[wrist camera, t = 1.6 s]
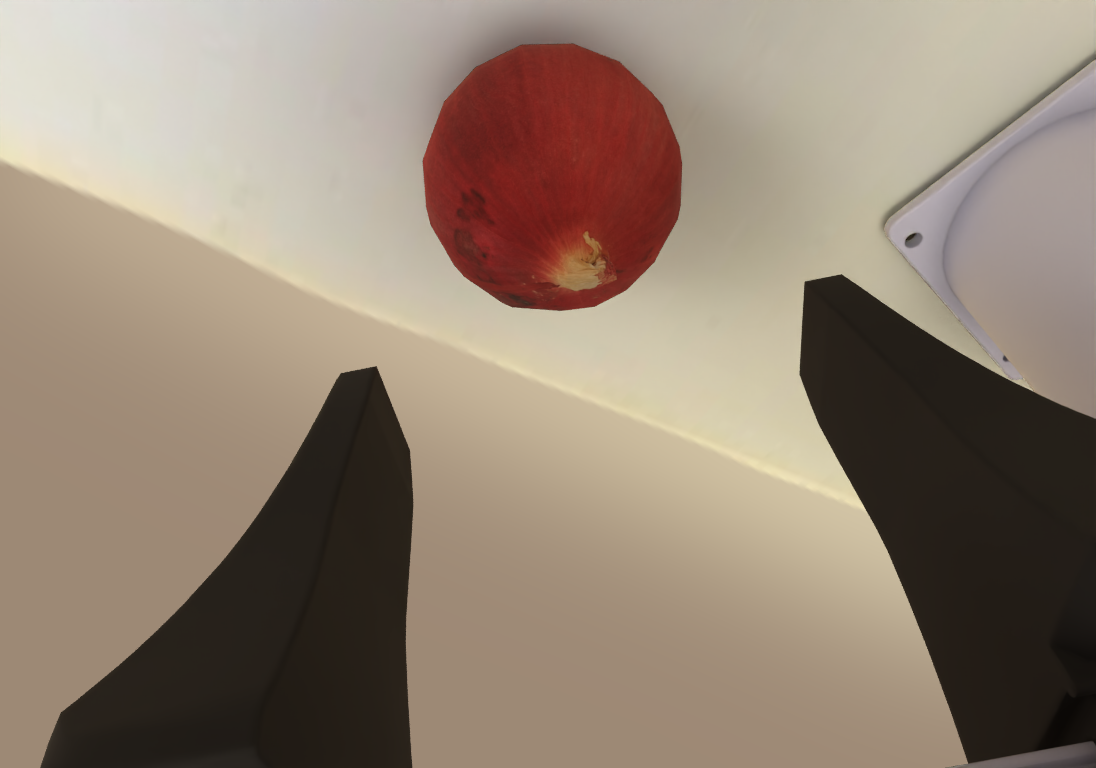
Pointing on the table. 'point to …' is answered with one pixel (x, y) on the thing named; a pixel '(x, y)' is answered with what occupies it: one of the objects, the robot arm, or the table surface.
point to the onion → (552, 177)
